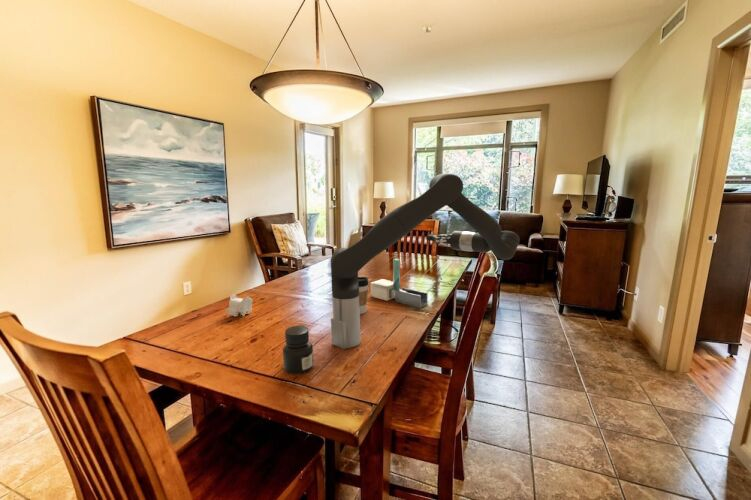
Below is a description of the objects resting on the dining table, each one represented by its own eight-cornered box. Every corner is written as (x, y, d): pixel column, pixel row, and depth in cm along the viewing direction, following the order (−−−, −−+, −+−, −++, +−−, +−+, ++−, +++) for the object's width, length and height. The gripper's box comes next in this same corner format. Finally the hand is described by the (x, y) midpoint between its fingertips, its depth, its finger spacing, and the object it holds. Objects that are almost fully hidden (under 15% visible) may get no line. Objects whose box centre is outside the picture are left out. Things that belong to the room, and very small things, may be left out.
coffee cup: (366, 315, 143) (365, 281, 141) (347, 314, 145) (346, 280, 142) (371, 308, 152) (370, 276, 149) (352, 307, 153) (351, 275, 150)
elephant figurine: (220, 318, 144) (218, 298, 142) (243, 309, 154) (241, 290, 153) (236, 322, 139) (234, 301, 138) (258, 312, 150) (257, 293, 148)
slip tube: (402, 300, 159) (402, 261, 155) (377, 293, 169) (376, 257, 166) (407, 298, 161) (407, 260, 158) (382, 291, 172) (381, 256, 168)
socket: (386, 300, 162) (386, 286, 160) (370, 296, 169) (370, 282, 167) (398, 296, 168) (398, 282, 167) (382, 292, 175) (382, 278, 174)
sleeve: (419, 308, 151) (419, 296, 150) (395, 301, 160) (395, 290, 159) (427, 304, 155) (427, 292, 154) (403, 298, 164) (403, 287, 163)
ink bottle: (312, 375, 99) (309, 336, 96) (281, 376, 98) (278, 338, 96) (315, 358, 108) (313, 323, 106) (287, 360, 108) (284, 324, 105)
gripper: (472, 229, 136) (435, 227, 148) (456, 233, 127) (418, 230, 138) (472, 248, 138) (435, 244, 149) (456, 253, 128) (418, 248, 140)
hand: (427, 237), depth 144 cm, fingers closed
